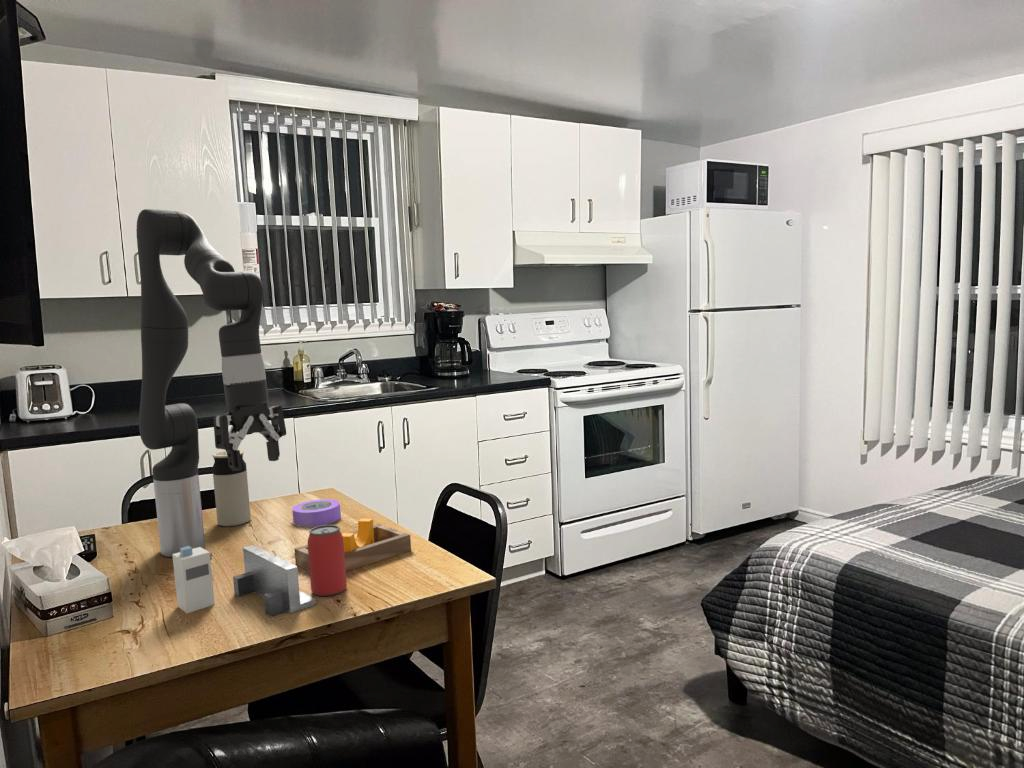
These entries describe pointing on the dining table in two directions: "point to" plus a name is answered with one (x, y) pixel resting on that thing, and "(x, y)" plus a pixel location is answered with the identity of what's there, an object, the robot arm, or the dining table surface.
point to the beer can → (326, 560)
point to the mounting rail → (271, 582)
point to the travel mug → (230, 491)
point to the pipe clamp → (359, 536)
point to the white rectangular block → (193, 579)
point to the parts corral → (367, 549)
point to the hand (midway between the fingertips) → (255, 465)
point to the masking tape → (316, 512)
